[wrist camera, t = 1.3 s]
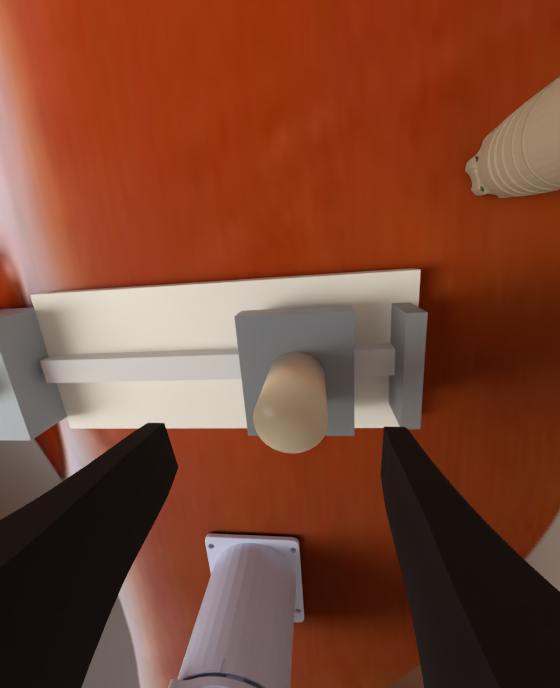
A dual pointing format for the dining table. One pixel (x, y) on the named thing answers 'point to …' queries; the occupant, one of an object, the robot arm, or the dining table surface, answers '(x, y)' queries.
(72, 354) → the rail track
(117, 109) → the dining table surface
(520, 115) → the handle
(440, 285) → the dining table surface
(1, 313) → the grey block with socket
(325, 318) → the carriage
